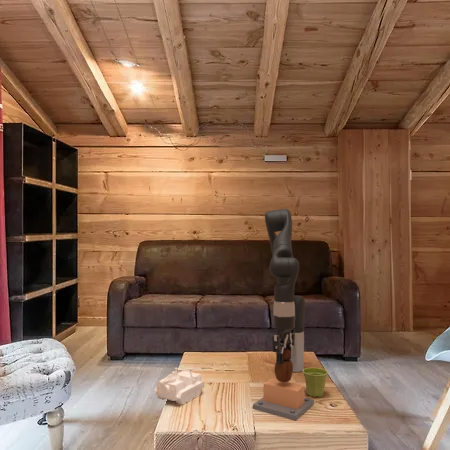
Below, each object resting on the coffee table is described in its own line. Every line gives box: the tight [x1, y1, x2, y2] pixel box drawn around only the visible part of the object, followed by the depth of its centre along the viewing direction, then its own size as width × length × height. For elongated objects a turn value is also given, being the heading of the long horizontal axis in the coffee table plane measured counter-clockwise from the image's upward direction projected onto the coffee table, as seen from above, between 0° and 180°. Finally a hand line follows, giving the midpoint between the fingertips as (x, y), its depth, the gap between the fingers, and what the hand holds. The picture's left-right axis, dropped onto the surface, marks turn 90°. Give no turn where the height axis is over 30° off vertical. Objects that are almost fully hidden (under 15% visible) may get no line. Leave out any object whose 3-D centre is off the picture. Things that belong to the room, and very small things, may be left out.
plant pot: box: [302, 367, 329, 398], centre depth 151 cm, size 9×9×9 cm
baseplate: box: [252, 396, 315, 421], centre depth 139 cm, size 16×16×2 cm
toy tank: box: [153, 367, 205, 405], centre depth 146 cm, size 12×20×10 cm, turn 149°
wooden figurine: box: [274, 347, 294, 382], centre depth 140 cm, size 7×6×15 cm
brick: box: [262, 378, 306, 409], centre depth 140 cm, size 6×13×6 cm, turn 57°
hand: (283, 361), depth 140 cm, fingers closed on wooden figurine, 6 cm apart
